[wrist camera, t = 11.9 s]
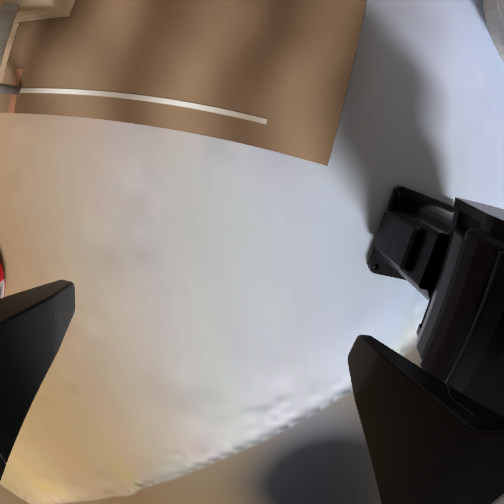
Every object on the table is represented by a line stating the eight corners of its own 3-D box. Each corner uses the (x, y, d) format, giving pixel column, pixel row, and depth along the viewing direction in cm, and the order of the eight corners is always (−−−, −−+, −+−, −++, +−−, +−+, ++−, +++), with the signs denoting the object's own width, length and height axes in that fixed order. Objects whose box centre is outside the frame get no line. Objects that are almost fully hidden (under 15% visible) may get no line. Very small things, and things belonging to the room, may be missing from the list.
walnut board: (356, 4, 15) (368, -6, 14) (318, 162, 19) (327, 165, 17) (58, -32, 12) (46, -42, 10) (12, 112, 16) (-5, 112, 14)
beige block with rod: (112, -48, 12) (72, -104, 5) (59, 107, 16) (-18, 103, 9) (56, -41, 12) (6, -82, 4) (7, 105, 16) (-69, 107, 8)
